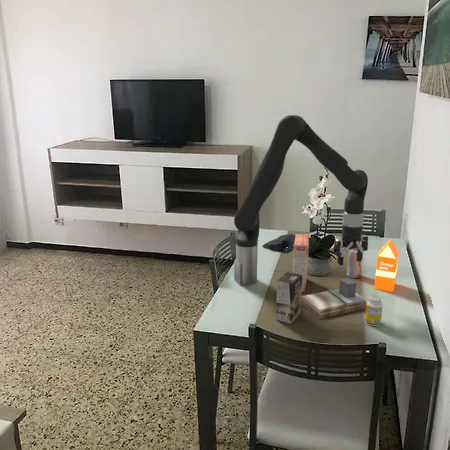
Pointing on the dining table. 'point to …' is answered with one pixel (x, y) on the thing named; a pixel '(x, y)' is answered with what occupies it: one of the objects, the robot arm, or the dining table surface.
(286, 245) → the dark slate chunk
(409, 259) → the dining table surface
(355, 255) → the energy drink
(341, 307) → the board
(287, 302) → the coffee box
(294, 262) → the cracker box
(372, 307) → the supplement bottle
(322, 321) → the dining table surface
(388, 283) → the orange juice
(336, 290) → the grey cube on base
